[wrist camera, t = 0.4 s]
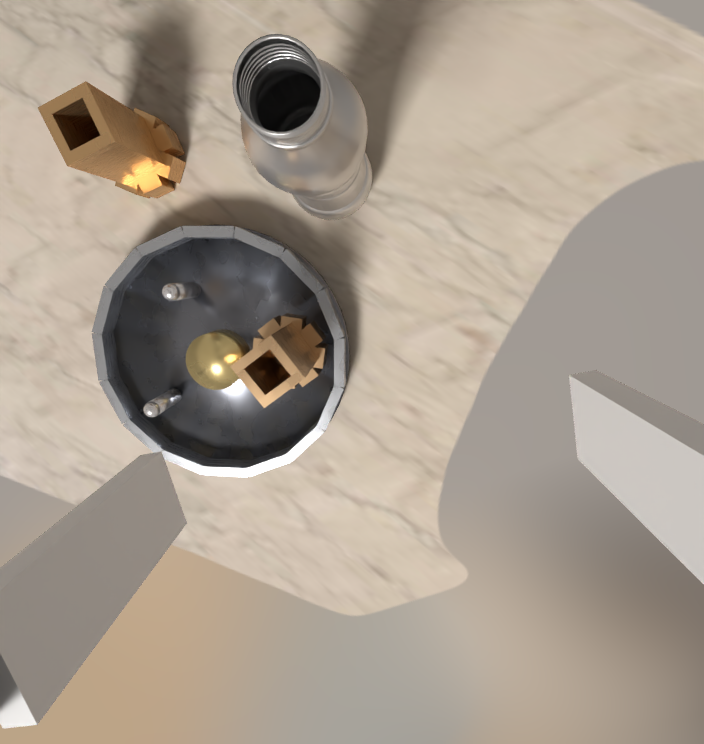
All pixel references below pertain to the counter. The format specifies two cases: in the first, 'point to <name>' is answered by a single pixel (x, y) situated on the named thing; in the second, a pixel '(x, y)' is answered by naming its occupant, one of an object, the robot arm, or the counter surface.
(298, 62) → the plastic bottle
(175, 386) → the bowl
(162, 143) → the hollow wooden square post
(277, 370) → the tan square tube
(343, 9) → the counter surface
